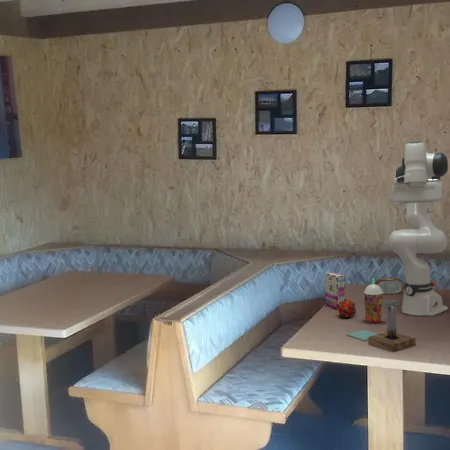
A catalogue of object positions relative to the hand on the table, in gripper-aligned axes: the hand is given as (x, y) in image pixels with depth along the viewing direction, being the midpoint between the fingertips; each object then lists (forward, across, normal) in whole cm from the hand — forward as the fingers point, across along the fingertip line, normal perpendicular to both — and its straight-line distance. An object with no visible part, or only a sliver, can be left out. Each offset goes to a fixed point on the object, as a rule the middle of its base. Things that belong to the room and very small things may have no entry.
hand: (416, 213), depth 268 cm
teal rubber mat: (+50, +23, -11) cm, 56 cm away
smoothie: (+43, +21, -32) cm, 58 cm away
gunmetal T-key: (+53, +11, -2) cm, 54 cm away
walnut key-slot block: (+53, +11, -2) cm, 54 cm away
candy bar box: (+36, +41, -53) cm, 76 cm away
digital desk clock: (+28, +18, -82) cm, 88 cm away
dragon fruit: (+41, +34, -38) cm, 65 cm away
